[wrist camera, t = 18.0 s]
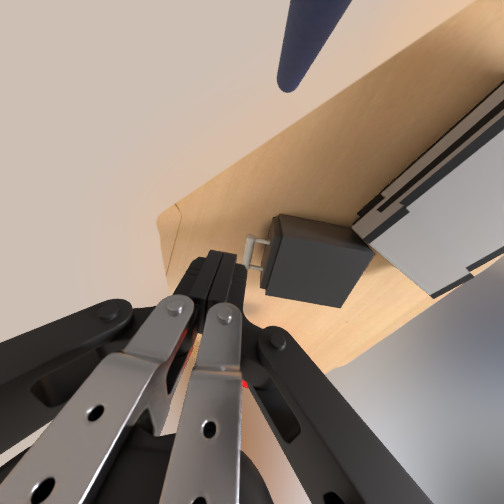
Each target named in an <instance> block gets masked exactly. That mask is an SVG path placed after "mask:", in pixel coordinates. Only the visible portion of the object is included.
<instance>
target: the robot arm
mask: <svg viewBox="0 0 504 504" xmlns="http://www.w3.org/2000/svg"><path fill="white" fill-rule="evenodd" d="M236 259H237V254H232V253H227V252H221V251H215V250H210V251H209V253H208V255H207V257H206V258H204V257H198V258H196V259H195V260H193V261H192V263H191V264H190V266H189V268H188V269H187V271H186V273H185V274H184V276H183V278H182V279H181V281H180V283H179V285H178V286H177V288H176V290H175V291H174V293H173V295H171V296H168V297H166V298H165V299H163V300H162V301H160V302H159V304H158V305H157V306H153V307H145V308H134V309H132V305H131V304H130V302H128V301H126V300H123V299H111V300H106V301H104V302H101V303H99V304H96V305H93V306H91V307H89V308H86V309H83V310H81V311H78V312H76V313H74V314H71V315H69V316H66V317H64V318H61V319H59V320H56V321H54V322H51V323H49V324H46V325H44V326H41V327H39V328H36V329H34V330H31V331H29V332H26V333H24V334H21V335H19V336H16V337H14V338H11V339H9V340H6V341H4V342H1V343H0V454H2V453H3V452H5V451H6V450H8V449H10V448H11V447H12V446H14V445H16V444H17V443H19V442H20V441H21V440H23V439H25V438H26V437H28V436H29V435H30V434H32V433H34V432H35V431H37V430H38V429H40V428H41V427H43V426H44V425H46V424H47V423H49V422H50V421H52V420H53V419H54V420H53V421H52V422H51V423H50V424H49V426H48V427H47V428H46V429H45V431H44V432H43V433H42V434H41V435H40V437H39V438H38V439H37V440H36V441H35V443H34V444H33V445H32V446H30V447H28V448H27V449H25V450H24V451H22V452H21V453H19V454H18V455H17V456H15V457H14V458H12V459H11V460H10V461H8V462H7V463H5V464H4V465H3V466H1V467H0V504H274V503H273V500H272V498H271V496H270V493H269V491H268V488H267V486H266V484H265V482H264V480H263V478H262V476H261V475H260V473H259V471H258V469H257V468H256V466H255V465H254V464H253V462H252V461H251V460H250V459H249V457H248V456H247V455H246V454H245V453H244V452H243V451H241V450H240V441H241V409H242V380H244V381H246V382H247V385H248V388H249V389H250V391H251V393H252V395H253V396H254V398H255V400H256V402H257V404H258V406H259V408H260V410H261V411H262V413H263V415H264V417H265V419H266V421H267V422H268V424H269V426H270V428H271V430H272V432H273V433H274V435H275V437H276V439H277V441H278V443H279V444H280V446H281V448H282V450H283V452H284V454H285V455H286V457H287V459H288V461H289V462H290V464H291V466H292V468H293V470H294V472H295V474H296V476H297V477H298V479H299V481H300V483H301V485H302V486H303V488H304V490H305V492H306V494H307V496H308V497H309V499H310V501H311V503H312V504H433V502H432V501H431V500H430V499H429V498H428V497H427V495H426V494H425V493H424V492H423V491H422V489H421V488H420V487H419V486H418V485H417V484H416V482H415V481H414V480H413V479H412V478H411V476H410V475H409V474H408V473H407V472H406V471H405V469H404V468H403V467H402V466H401V465H400V463H399V462H398V461H397V460H396V459H395V458H394V456H393V455H392V454H391V453H390V452H389V451H388V449H387V448H386V447H385V446H384V445H383V443H382V442H381V441H380V440H379V439H378V438H377V436H376V435H375V434H374V433H373V432H372V430H371V429H370V428H369V427H368V426H367V425H366V423H365V422H364V421H363V420H362V419H361V417H360V416H359V415H358V414H357V413H356V412H355V410H354V409H353V408H352V407H351V406H350V404H349V403H348V402H347V401H346V400H345V399H344V397H343V396H342V395H341V394H340V393H339V392H338V390H337V389H336V388H335V387H334V386H333V385H332V383H331V382H330V381H329V380H328V379H327V377H326V376H325V375H324V374H323V373H322V371H321V370H320V369H319V368H318V367H317V366H316V364H315V363H314V362H313V361H312V360H311V358H310V357H309V356H308V355H307V354H306V353H305V351H304V350H303V349H302V348H301V347H300V345H299V344H298V343H297V342H296V341H295V340H294V338H293V337H292V336H291V335H290V334H289V333H288V332H287V331H286V330H284V329H283V328H280V327H277V326H269V327H266V328H264V329H262V328H260V327H258V326H256V325H254V324H252V323H251V322H249V321H248V320H247V318H246V317H245V315H244V313H243V302H244V295H245V287H246V280H247V272H248V271H247V269H246V267H245V265H242V264H237V263H236ZM198 333H200V334H202V338H201V342H200V346H199V350H198V355H197V359H196V363H195V366H194V367H193V369H192V372H191V376H190V380H189V383H188V387H187V391H186V395H185V399H184V403H183V407H182V412H181V416H180V420H179V424H178V428H177V432H176V433H174V434H169V435H164V436H160V434H161V431H162V429H163V426H164V424H165V421H166V418H167V416H168V412H169V409H170V404H171V400H172V397H173V395H174V392H175V390H176V387H177V385H178V383H179V381H180V378H181V376H182V374H183V371H184V369H185V367H186V364H187V362H188V360H189V357H190V355H191V353H192V350H193V345H194V342H195V339H196V336H197V334H198Z"/></svg>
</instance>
